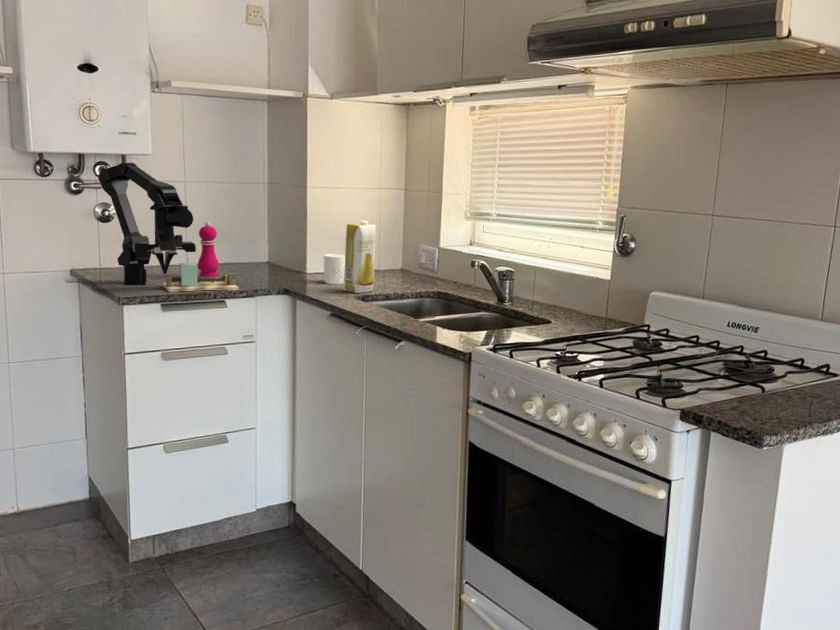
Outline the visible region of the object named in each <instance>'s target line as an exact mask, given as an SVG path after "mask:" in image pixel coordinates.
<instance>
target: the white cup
mask: <svg viewBox="0 0 840 630" xmlns="http://www.w3.org/2000/svg"><path fill="white" fill-rule="evenodd" d="M323 274H324V283H325V284H327V285H343V284H344V278H345V254H340V253H339V254H338V253H327V254H323Z"/></svg>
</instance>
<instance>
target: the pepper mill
mask: <svg viewBox="0 0 840 630" xmlns="http://www.w3.org/2000/svg"><path fill="white" fill-rule="evenodd" d="M217 234H218V233H217V229H216V228H215V227H214V226H211V222H210V221H206V222H205V224H204V226H202V227H201V228H200V229H199V231H198V236H199V238H200V244H201V253H200V256H199V259H198V262H197V269H198V270H199V271H200V272H199V276H198V277H219V275H218V274H219V273H218V272H217V271H218V270H219V268H220V264H219V260H218V258H217V256H216V253H215V245H216V240H215V239H216V238H217Z"/></svg>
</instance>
